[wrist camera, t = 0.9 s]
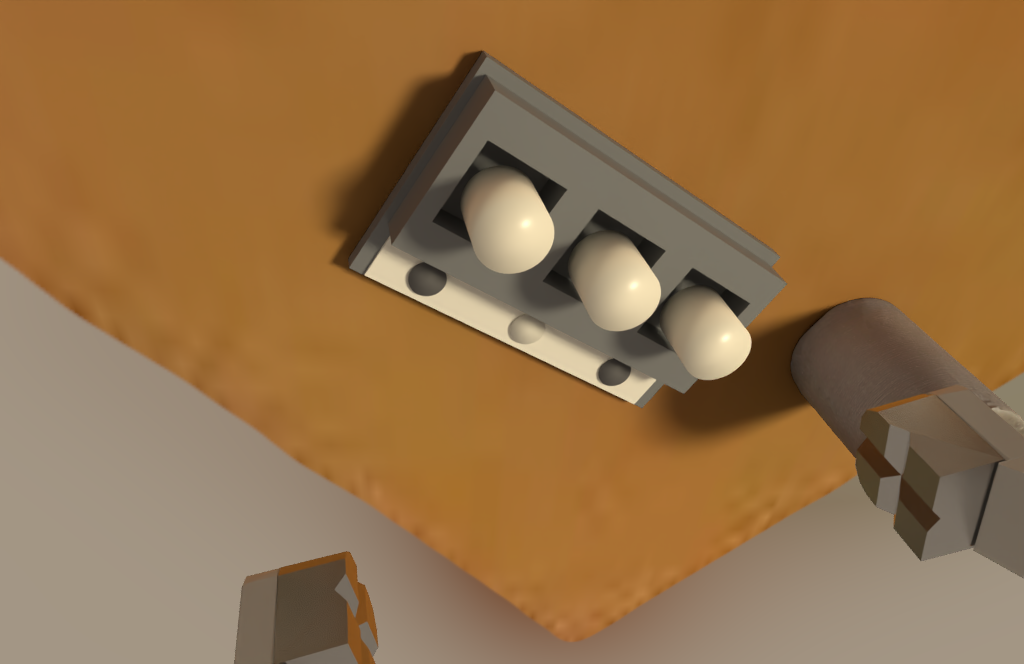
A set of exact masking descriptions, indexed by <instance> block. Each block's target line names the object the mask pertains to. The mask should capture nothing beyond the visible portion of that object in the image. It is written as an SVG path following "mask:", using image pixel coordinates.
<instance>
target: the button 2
mask: <svg viewBox="0 0 1024 664" xmlns="http://www.w3.org/2000/svg"><path fill="white" fill-rule="evenodd" d="M568 273H569V276H570V278H571V280H572V282H573V284H574V286H575V288H576V290H577V292H578V294H579V296H580V298H581V300H582V302H583V304H584V306H585V308H586V310H587V312H588V314H589V316H590V318H591V319H592V321H593V322H594V323H595V324H596V325H597V326H599V327H601V328H603V329H605V330H609V331H624V330H628V329H632V328H634V327H636V326H638V325H640V324H642V323H643V322H644V321H646V320H647V319H648V318H649V317H650V316H651V315H652V314H653V312H654V311H655V310H656V308H657V306H658V304H659V301H660V297H661V287H660V283H659V281H658V279H657V278H656V276H655V275H654V273H653V272H652V270H651V269H650V267H649V266H648V264H647V263H646V261H645V260H644V258H643V257H642V256H641V254H640V253H639V251H638V250H637V248H636V247H635V245H634V244H633V242H632V241H631V240H630V239H629V238H628V237H627V236H626V235H624V234H623V233H621V232H618V231H613V230H603V231H598V232H595V233H592V234H590V235H588V236H587V237H585V238H584V239H582V240H581V241H580V242H579V243H578V244H577V245H576V246H575V248H574V249H573V251H572V252H571V254H570V257H569V261H568Z"/></svg>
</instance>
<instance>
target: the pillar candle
mask: <svg viewBox="0 0 1024 664" xmlns="http://www.w3.org/2000/svg"><path fill="white" fill-rule="evenodd" d="M791 373H792V377H793V380H794V381H795V383H796V384H797V386H798V388H799V390H800V393H801V394H802V395H803V396H804V397H805V399H806V400H807V401H808V402H809V403H810V404H811V406H812V407H813V408H814V409H815V410H816V411H817V412H818V414H819V415H820V416H821V417H822V418H823V420H824V421H825V422H826V423H827V425H828V426H829V427H830V428H831V429H832V431H833V432H834V433H835V434H836V435H837V437H838V438H839V439H840V440H841V441H842V442H843V444H844V445H845V446H846V447H847V448H848V450H849V451H850V452H851V453H852V455H853V456H854V457H855V458H856V452H857V449H858V448H859V446H860V445H861V444H862V443H863V441H864V440H865V439H866V438H867V437H866V436H865V434H864V433H863V432H862V431H861V430H860V423H861V417H862V415H863V414H864V413H865V411H866V410H868V409H871V408H875V407H878V406H882V405H885V404H889V403H892V402H896V401H899V400H903V399H906V398H910V397H913V396H917V395H920V394H926V393H929V392H932V391H936V390H940V389H943V388H947V387H950V386H954V385H960V386H963V387H966V388H967V389H969V390H970V391H971V392H972V393H973V394H975V395H976V396H977V397H978V398H979V399H980V400H982V401H983V402H984V403H985V404H986V405H987V406H989V407H990V408H991V409H992V410H993V411H994V412H995V413H997V414H998V415H999V416H1000V417H1001V418H1002V419H1004V420H1005V421H1006V422H1007V423H1008V424H1009V425H1011V426H1012V427H1013V428H1014V429H1015V430H1016V431H1018V432H1019V433H1020V434H1021V435H1022V436H1023V437H1024V421H1023V419H1022V418H1021V417H1020V416H1019V415H1018V414H1017V413H1016V412H1014V411H1013V410H1012V409H1011V408H1010V407H1009V406H1007V405H1006V404H1005V403H1004V402H1003V401H1002V400H1001V399H1000V398H999V397H997V396H996V395H995V394H994V393H993V392H992V391H991V390H990V389H988V388H987V387H986V386H985V385H984V384H983V383H981V382H980V381H979V380H978V379H977V378H976V377H975V376H974V375H972V374H971V373H970V372H969V371H968V370H967V369H966V368H964V367H963V366H962V365H961V364H960V363H959V362H958V361H956V360H955V359H954V358H953V357H952V356H951V355H950V354H949V353H947V352H946V351H945V350H944V349H943V348H942V347H940V346H939V345H938V344H937V343H936V342H935V341H934V340H933V339H932V338H930V337H929V336H928V335H927V334H926V333H925V332H924V331H923V330H921V329H920V328H919V327H918V326H917V325H916V324H915V323H914V322H912V321H911V320H910V319H909V318H908V317H907V316H906V315H905V314H904V313H902V312H901V311H900V310H899V309H898V308H896V307H895V306H894V305H892V304H891V303H889V302H887V301H884V300H881V299H876V298H862V299H855V300H851V301H848V302H846V303H843V304H840V305H838V306H836V307H834V308H832V309H831V310H830V311H828V312H827V313H826V314H825V315H824V316H823V317H822V318H821V319H820V320H819V321H817V322H816V323H815V324H814V325H813V326H812V327H811V328H810V329H809V330H808V331H807V332H806V333H805V334H804V335H803V336H802V337H801V338H800V340H799V341H798V343H797V345H796V347H795V349H794V352H793V355H792V361H791Z"/></svg>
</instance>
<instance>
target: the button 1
mask: <svg viewBox="0 0 1024 664" xmlns="http://www.w3.org/2000/svg"><path fill="white" fill-rule="evenodd" d="M460 207H461V212H462V215H463V218H464V221H465V224H466V228H467V231H468V234H469V237H470V240H471V243H472V246H473V249H474V252H475V254H476V256H477V258H478V259H479V261H480V262H481V263H482V264H483V265H485V266H486V267H487V268H489V269H491V270H493V271H495V272H499V273H504V274H514V273H520V272H523V271H526V270H529V269H531V268H532V267H534V266H536V265H537V264H538V263H540V262H541V261H542V260H543V259H544V258H545V256H546V255H547V254H548V252H549V251H550V249H551V246H552V244H553V240H554V225H553V222H552V219H551V217H550V215H549V213H548V211H547V210H546V208H545V206H544V204H543V202H542V200H541V198H540V196H539V195H538V193H537V191H536V189H535V187H534V185H533V183H532V182H531V180H530V179H529V177H528V176H527V175H526V174H525V173H523V172H522V171H520V170H518V169H516V168H514V167H510V166H503V165H500V166H492V167H489V168H486V169H484V170H481V171H480V172H478V173H477V174H475V175H474V176H473V177H472V178H471V179H470V180H469V181H468V183H467V184H466V186H465V187H464V190H463V192H462V195H461V201H460Z"/></svg>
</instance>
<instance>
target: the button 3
mask: <svg viewBox="0 0 1024 664" xmlns="http://www.w3.org/2000/svg"><path fill="white" fill-rule="evenodd" d="M659 322H660V327H661V329H662V331H663V333H664V334H665V336H666V338H667V339H668V341H669V342H670V344H671V346H672V347H673V349H674V350H675V352H676V353H677V355H678V357H679V358H680V360H681V361H682V363H683V365H684V366H685V368H686V369H687V371H688V372H689V373H690V374H691V375H692V376H694V377H695V378H698V379H702V380H714V379H719V378H722V377H724V376H727V375H729V374H730V373H732V372H733V371H735V370H736V369H737V368H739V367H740V366H741V365H742V363H743V362H744V361H745V360H746V358H747V356H748V355H749V352H750V349H751V337H750V334H749V332H748V331H747V330H746V328H745V327H744V326H743V325H742V323H741V322H740V321H739V319H738V318H737V317H736V316H735V314H734V313H733V312H732V310H731V309H730V308H729V307H728V305H727V304H726V303H725V302H724V300H723V299H722V298H721V296H720V295H719V294H718V293H717V292H716V291H715V290H714V289H712V288H710V287H707V286H703V285H696V286H690V287H687V288H684V289H682V290H680V291H678V292H677V293H675V294H674V295H673V296H671V297H670V298H669V299H668V301H667V302H666V303H665V305H664V306H663V308H662V310H661V313H660V319H659Z"/></svg>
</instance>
